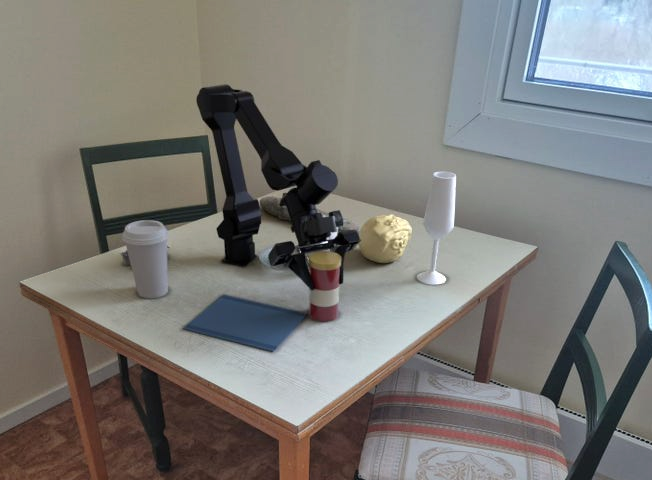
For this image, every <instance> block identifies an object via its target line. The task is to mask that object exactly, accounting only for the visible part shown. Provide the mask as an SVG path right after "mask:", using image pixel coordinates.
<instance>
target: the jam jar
mask: <svg viewBox="0 0 652 480" xmlns="http://www.w3.org/2000/svg"><path fill="white" fill-rule="evenodd" d="M308 265H309V272H310V275H311V277H312V280H313V283H314V287H315V289H314V290H313V291H311V290H310V289H308V294H309V295H308V316H309V317H310V318H311V319H312V320H314V321H317V322H330V321H331V322H332V321H334V320H336V319H337V318H338V317H339V302H340V284H339V280H340V266H341V256H340V255H339V254H337V253H335V252H330V251H319V252H315V253H312V254H311V255H310V256H309V263H308Z"/></svg>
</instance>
